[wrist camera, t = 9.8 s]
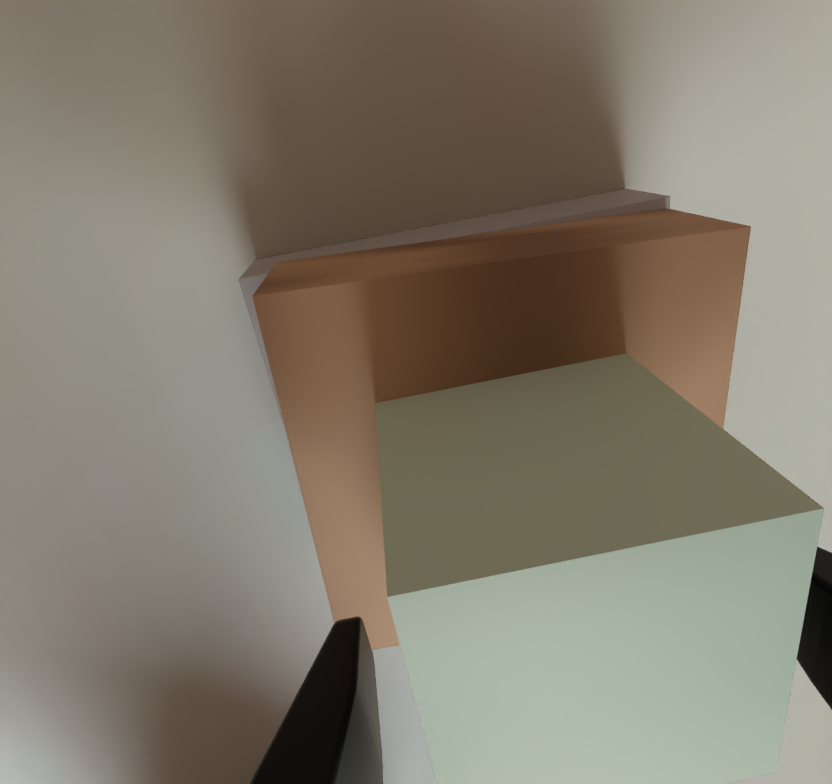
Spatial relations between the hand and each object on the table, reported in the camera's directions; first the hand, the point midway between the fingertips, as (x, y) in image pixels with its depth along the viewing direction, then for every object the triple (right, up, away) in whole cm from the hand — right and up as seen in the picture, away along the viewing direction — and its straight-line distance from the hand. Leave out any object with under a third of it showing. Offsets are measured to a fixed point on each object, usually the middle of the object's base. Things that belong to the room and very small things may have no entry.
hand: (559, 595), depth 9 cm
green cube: (0, +1, +3) cm, 3 cm away
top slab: (0, +3, +6) cm, 6 cm away
